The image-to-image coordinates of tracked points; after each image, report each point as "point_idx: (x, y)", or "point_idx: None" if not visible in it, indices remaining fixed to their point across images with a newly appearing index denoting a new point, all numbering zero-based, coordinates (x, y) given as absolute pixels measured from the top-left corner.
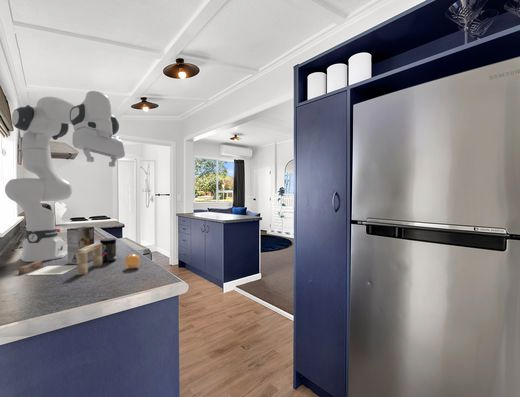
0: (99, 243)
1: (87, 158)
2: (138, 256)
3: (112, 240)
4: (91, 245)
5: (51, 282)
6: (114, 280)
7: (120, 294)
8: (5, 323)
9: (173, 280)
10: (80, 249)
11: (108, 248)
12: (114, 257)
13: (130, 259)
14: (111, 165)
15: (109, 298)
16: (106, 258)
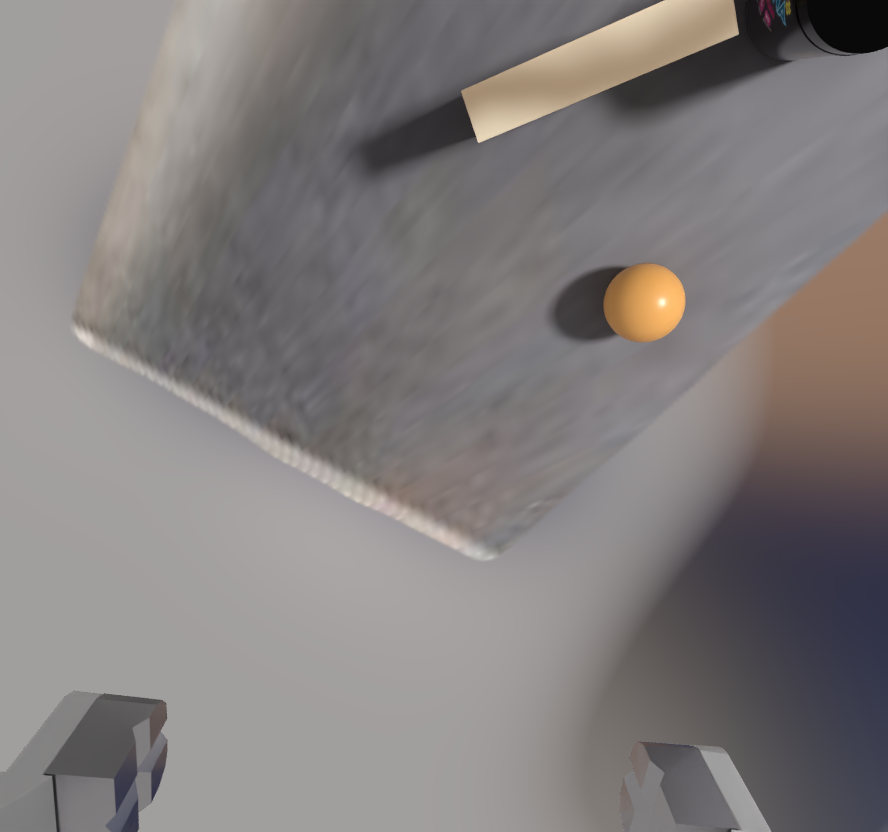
0: (723, 22)
1: (31, 759)
2: (661, 336)
3: (837, 51)
4: (632, 33)
5: (339, 80)
6: (446, 339)
7: (335, 453)
8: (72, 318)
9: (503, 533)
10: (487, 90)
11: (788, 36)
12: (797, 59)
13: (611, 320)
14: (624, 799)
15: (298, 444)
16: (755, 29)
